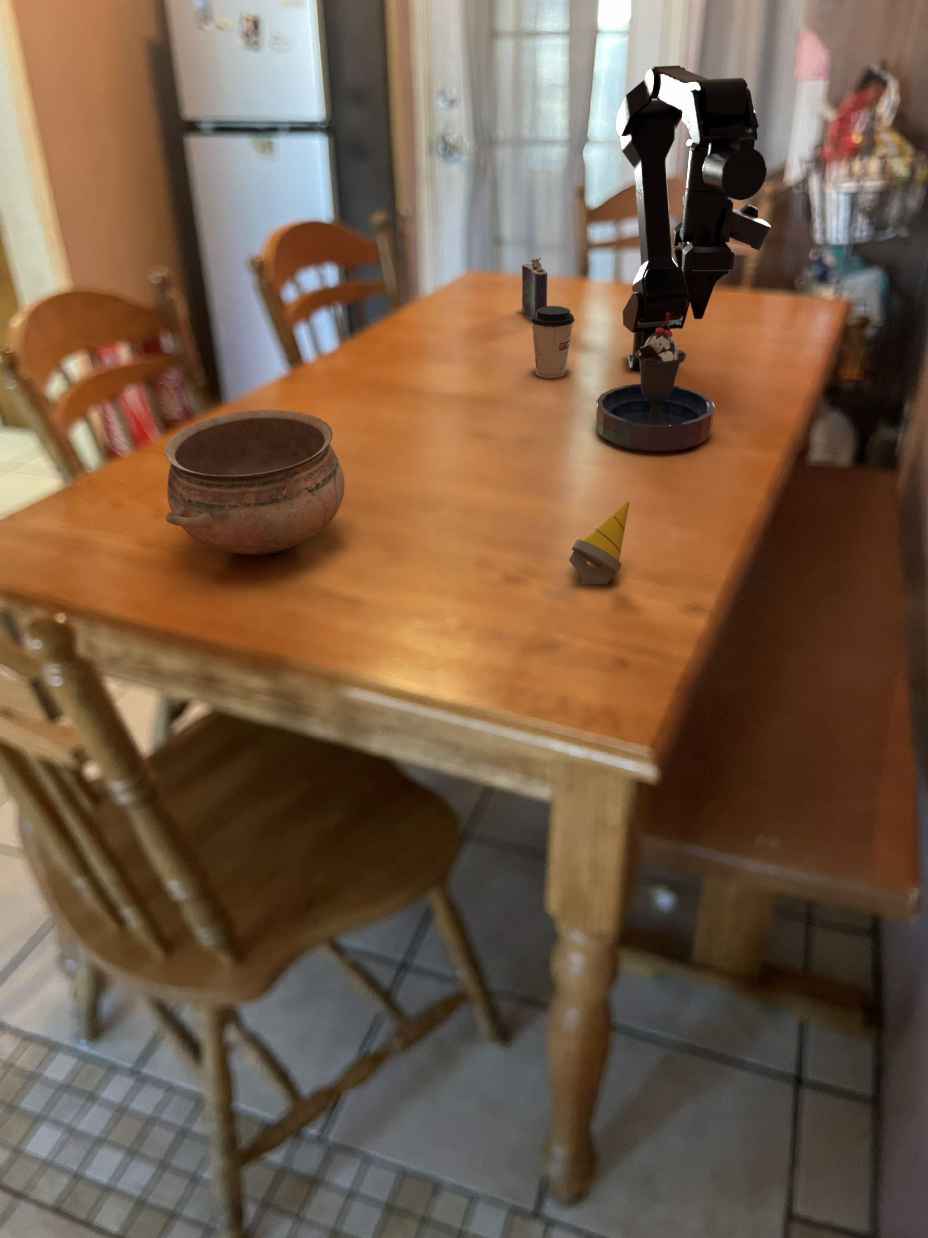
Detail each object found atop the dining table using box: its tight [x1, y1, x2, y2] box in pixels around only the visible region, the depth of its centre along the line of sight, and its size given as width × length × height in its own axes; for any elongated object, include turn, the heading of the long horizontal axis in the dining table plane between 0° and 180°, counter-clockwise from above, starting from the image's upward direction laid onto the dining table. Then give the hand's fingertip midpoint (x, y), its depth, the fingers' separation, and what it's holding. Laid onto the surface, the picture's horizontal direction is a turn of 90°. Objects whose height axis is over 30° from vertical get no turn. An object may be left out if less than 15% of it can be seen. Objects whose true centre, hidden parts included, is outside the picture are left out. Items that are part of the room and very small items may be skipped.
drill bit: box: [568, 500, 630, 585], centre depth 94 cm, size 5×5×10 cm
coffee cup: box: [529, 305, 576, 379], centre depth 144 cm, size 7×7×10 cm
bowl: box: [594, 383, 716, 454], centre depth 125 cm, size 16×16×4 cm
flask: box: [521, 257, 548, 319], centre depth 170 cm, size 9×3×11 cm, turn 17°
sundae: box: [635, 313, 687, 424], centre depth 121 cm, size 7×7×15 cm
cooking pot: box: [164, 409, 345, 557], centre depth 100 cm, size 25×19×12 cm
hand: (694, 309), depth 129 cm, fingers open, 9 cm apart
